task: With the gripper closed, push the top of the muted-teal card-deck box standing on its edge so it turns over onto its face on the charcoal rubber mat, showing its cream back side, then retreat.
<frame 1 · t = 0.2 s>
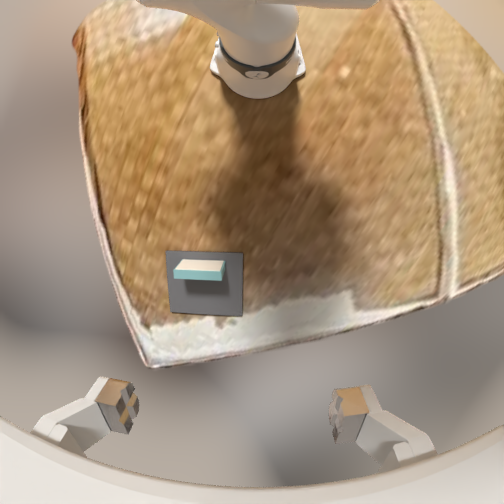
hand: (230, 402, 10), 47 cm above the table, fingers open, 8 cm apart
deck box: (203, 264, 57), point 1 cm above the table, touching mat
mat: (204, 283, 59), on the table
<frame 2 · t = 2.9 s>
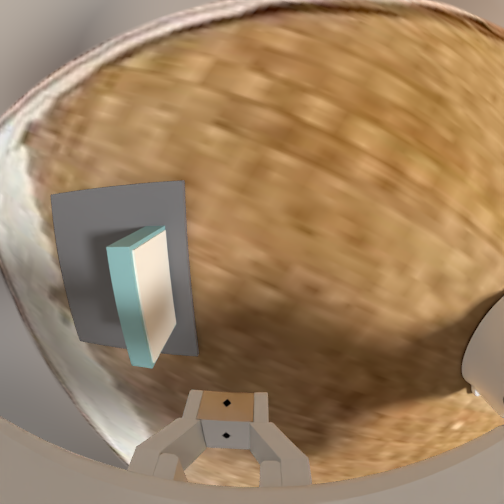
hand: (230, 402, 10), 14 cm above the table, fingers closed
deck box: (160, 278, 23), point 1 cm above the table, touching mat
mat: (119, 274, 24), on the table
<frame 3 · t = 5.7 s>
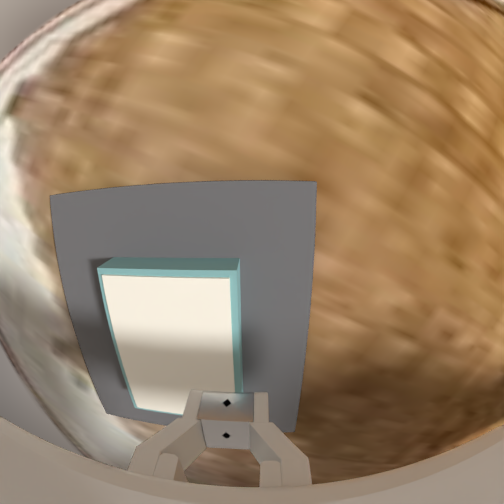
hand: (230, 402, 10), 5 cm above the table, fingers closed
deck box: (240, 350, 13), point 1 cm above the table, tilted 90°, touching mat
mat: (177, 332, 15), on the table
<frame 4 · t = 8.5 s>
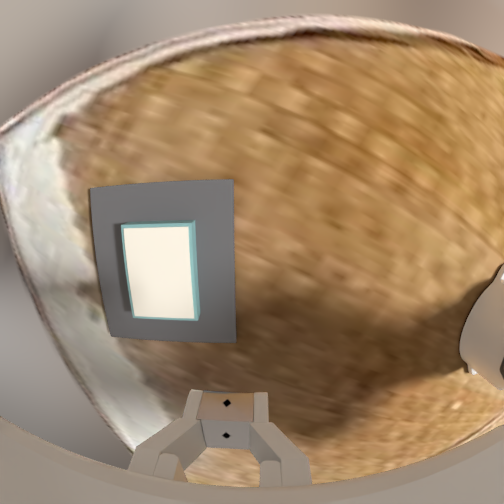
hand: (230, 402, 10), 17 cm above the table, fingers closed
deck box: (195, 271, 25), point 1 cm above the table, tilted 90°, touching mat
mat: (162, 266, 26), on the table
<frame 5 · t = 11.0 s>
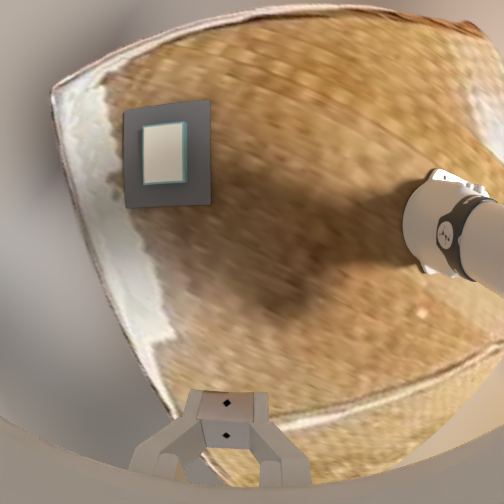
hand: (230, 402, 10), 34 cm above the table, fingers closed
deck box: (185, 151, 38), point 1 cm above the table, tilted 90°, touching mat
mat: (165, 154, 40), on the table
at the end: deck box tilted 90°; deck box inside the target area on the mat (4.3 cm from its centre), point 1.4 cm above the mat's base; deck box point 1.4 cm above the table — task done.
